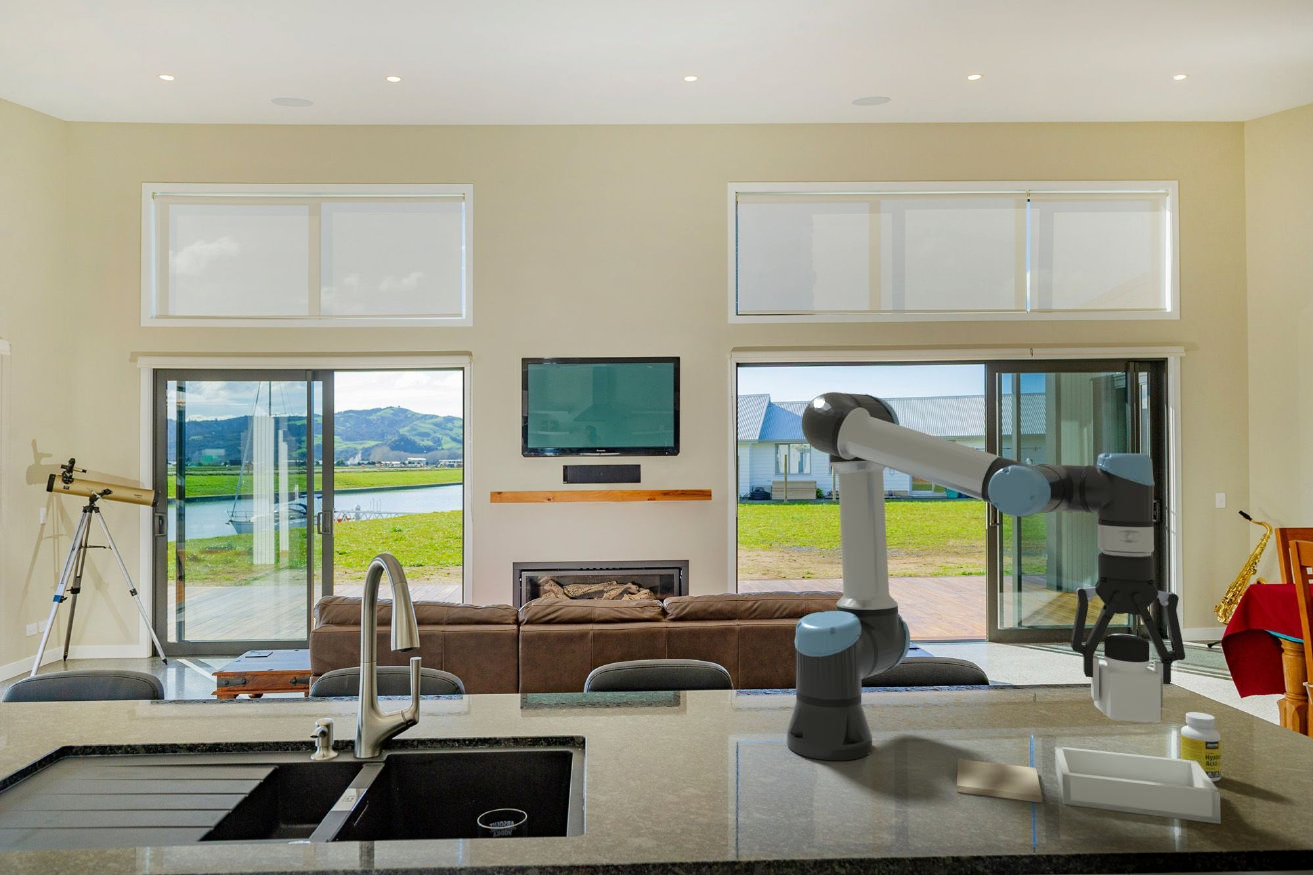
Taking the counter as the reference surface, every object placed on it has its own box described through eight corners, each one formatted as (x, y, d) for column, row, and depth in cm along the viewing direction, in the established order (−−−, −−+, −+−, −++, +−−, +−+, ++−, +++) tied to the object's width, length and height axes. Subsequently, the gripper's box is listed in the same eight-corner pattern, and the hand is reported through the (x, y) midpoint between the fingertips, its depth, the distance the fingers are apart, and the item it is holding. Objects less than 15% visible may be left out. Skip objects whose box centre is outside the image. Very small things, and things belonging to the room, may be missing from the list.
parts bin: (1063, 803, 124) (1062, 774, 124) (1055, 773, 136) (1054, 746, 136) (1220, 823, 117) (1219, 792, 117) (1197, 789, 129) (1196, 760, 129)
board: (957, 791, 129) (957, 785, 129) (958, 765, 140) (958, 759, 140) (1041, 802, 124) (1041, 795, 124) (1036, 774, 136) (1036, 767, 136)
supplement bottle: (1209, 785, 130) (1207, 722, 131) (1174, 773, 135) (1172, 713, 135) (1228, 778, 133) (1227, 717, 133) (1193, 767, 138) (1192, 708, 138)
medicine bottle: (1162, 723, 123) (1162, 642, 123) (1111, 720, 124) (1110, 640, 124) (1141, 708, 130) (1141, 631, 130) (1093, 706, 131) (1093, 630, 131)
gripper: (1053, 552, 127) (1054, 700, 127) (1211, 559, 120) (1212, 716, 120) (1049, 547, 134) (1049, 687, 134) (1197, 553, 127) (1198, 701, 127)
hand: (1126, 701), depth 127 cm, fingers closed on medicine bottle, 8 cm apart
